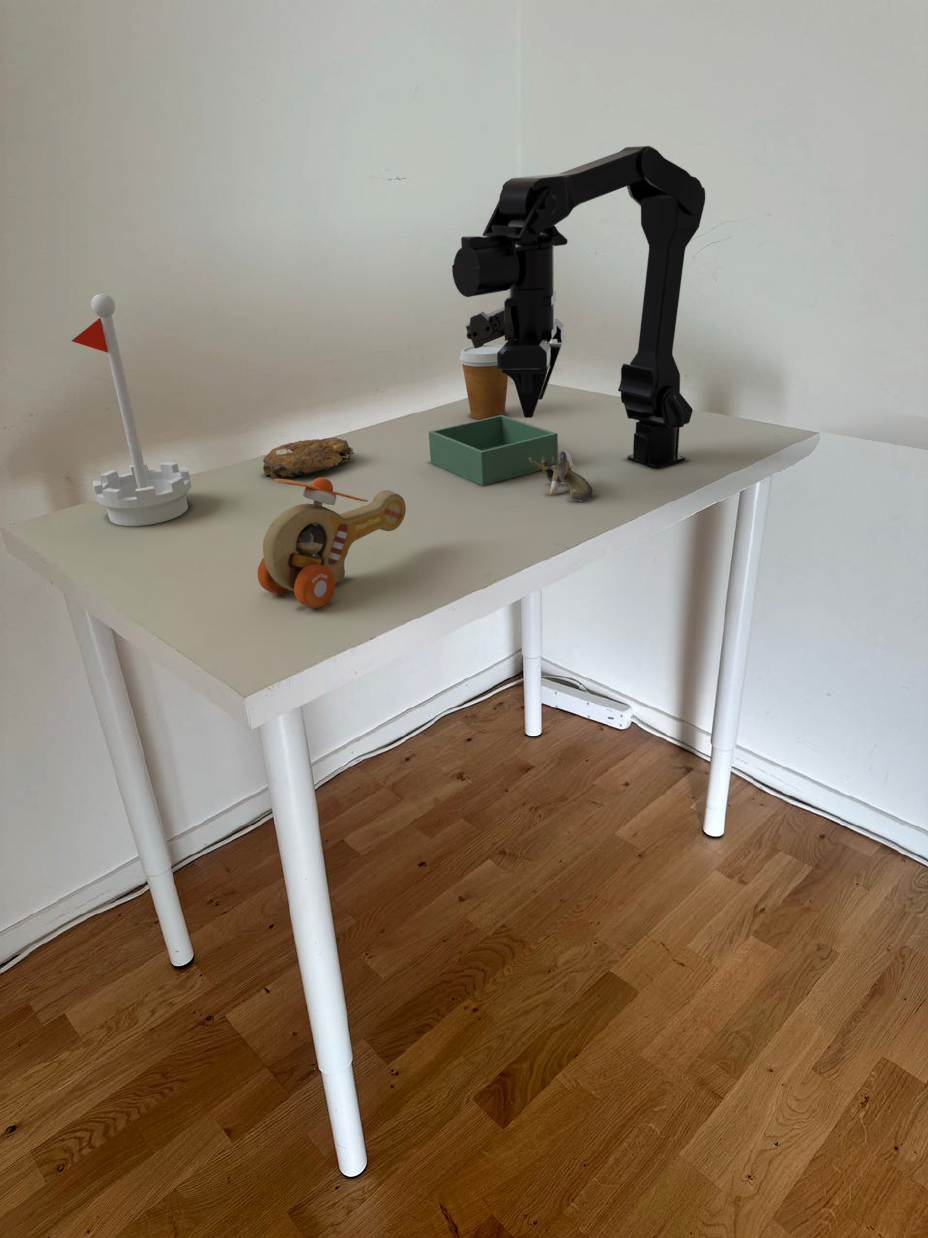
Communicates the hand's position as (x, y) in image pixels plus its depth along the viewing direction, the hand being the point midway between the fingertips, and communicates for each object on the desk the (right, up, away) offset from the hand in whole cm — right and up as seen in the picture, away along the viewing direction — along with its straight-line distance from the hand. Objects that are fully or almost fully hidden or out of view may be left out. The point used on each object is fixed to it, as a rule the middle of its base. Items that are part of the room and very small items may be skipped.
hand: (533, 407), depth 123 cm
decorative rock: (-34, -4, +23) cm, 42 cm away
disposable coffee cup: (-5, +9, +46) cm, 47 cm away
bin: (-5, -4, +20) cm, 21 cm away
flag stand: (-55, -13, +8) cm, 57 cm away
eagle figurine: (+5, -11, +7) cm, 14 cm away
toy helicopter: (-24, -24, -16) cm, 38 cm away
